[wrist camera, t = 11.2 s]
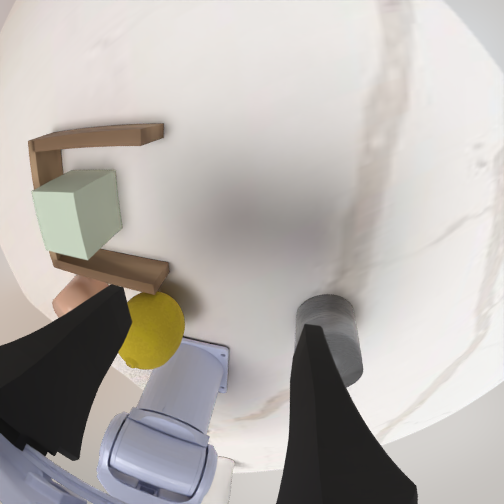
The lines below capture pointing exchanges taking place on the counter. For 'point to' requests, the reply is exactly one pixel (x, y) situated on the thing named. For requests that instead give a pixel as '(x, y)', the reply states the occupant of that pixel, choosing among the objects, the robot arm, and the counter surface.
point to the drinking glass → (220, 483)
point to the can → (334, 332)
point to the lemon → (152, 330)
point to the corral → (103, 261)
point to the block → (78, 212)
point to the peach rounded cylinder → (76, 293)
